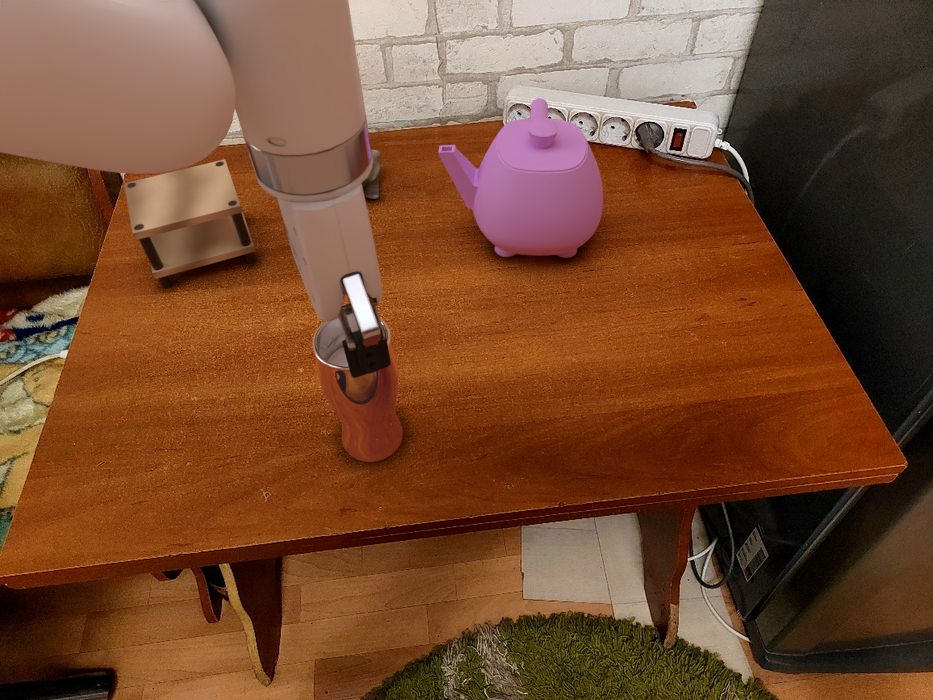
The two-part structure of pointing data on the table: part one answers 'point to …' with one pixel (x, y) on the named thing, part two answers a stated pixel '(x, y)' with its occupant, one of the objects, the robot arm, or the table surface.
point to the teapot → (532, 186)
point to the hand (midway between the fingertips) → (352, 327)
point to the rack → (188, 219)
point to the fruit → (373, 177)
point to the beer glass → (359, 395)
